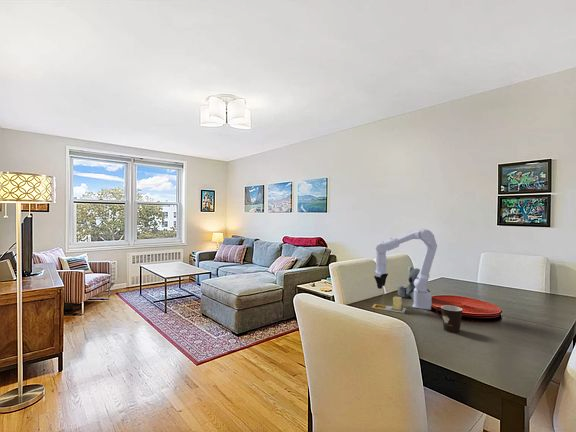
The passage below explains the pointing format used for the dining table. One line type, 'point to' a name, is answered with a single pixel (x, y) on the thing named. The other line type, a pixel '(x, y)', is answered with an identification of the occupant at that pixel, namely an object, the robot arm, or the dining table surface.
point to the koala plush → (410, 289)
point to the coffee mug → (451, 318)
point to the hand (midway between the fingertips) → (381, 287)
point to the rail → (388, 308)
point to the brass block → (397, 303)
